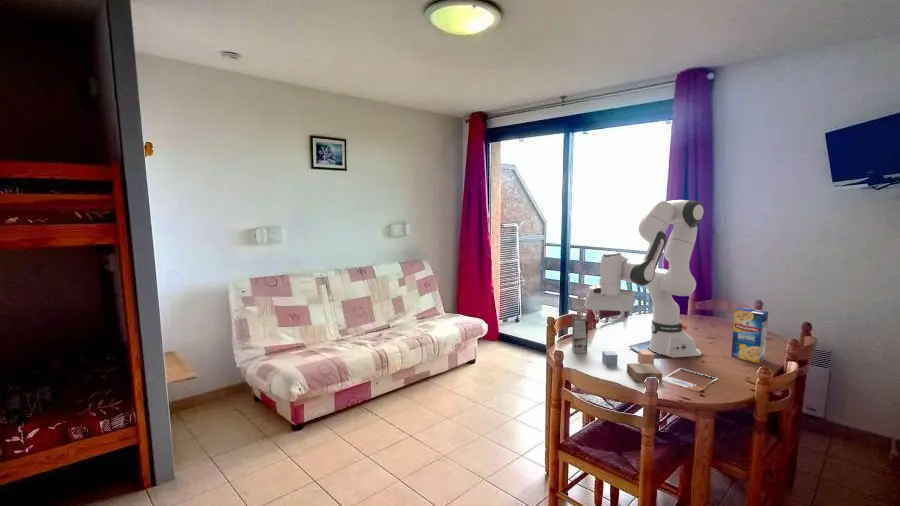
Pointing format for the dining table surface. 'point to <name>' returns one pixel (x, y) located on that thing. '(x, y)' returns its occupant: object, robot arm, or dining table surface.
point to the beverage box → (749, 334)
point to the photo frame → (680, 382)
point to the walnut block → (643, 372)
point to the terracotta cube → (645, 357)
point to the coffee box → (580, 334)
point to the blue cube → (609, 358)
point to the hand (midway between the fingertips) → (607, 320)
